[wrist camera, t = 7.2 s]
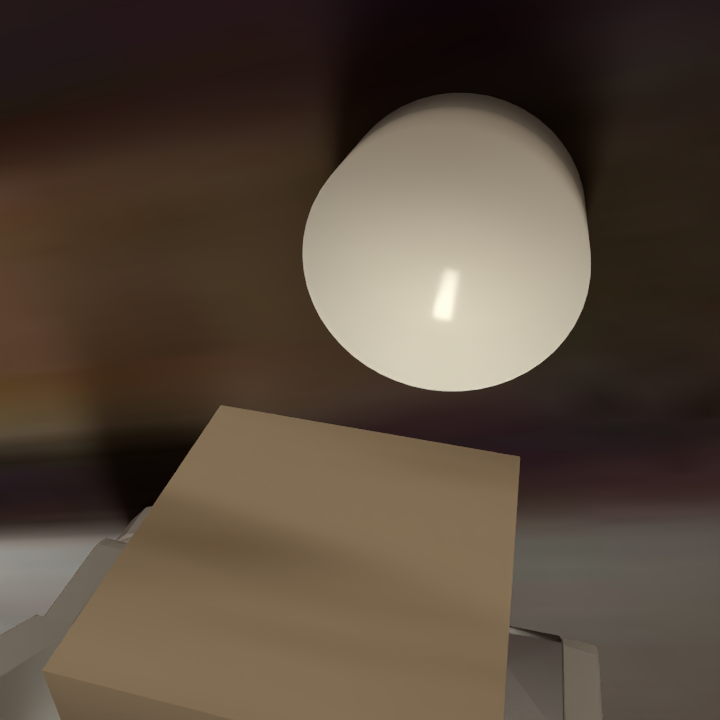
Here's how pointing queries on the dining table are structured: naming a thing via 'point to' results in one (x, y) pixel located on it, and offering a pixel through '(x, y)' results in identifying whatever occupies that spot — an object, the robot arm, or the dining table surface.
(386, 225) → the white rounded lump
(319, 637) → the beech block
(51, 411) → the dining table surface
